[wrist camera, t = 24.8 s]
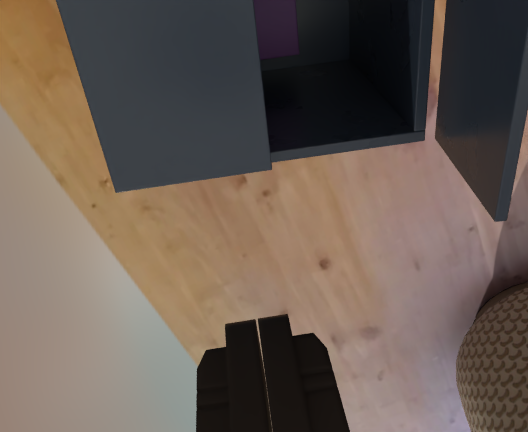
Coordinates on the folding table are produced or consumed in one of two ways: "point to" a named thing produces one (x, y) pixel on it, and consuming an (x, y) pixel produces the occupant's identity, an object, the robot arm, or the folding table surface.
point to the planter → (496, 365)
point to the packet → (276, 28)
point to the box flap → (171, 87)
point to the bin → (405, 85)
